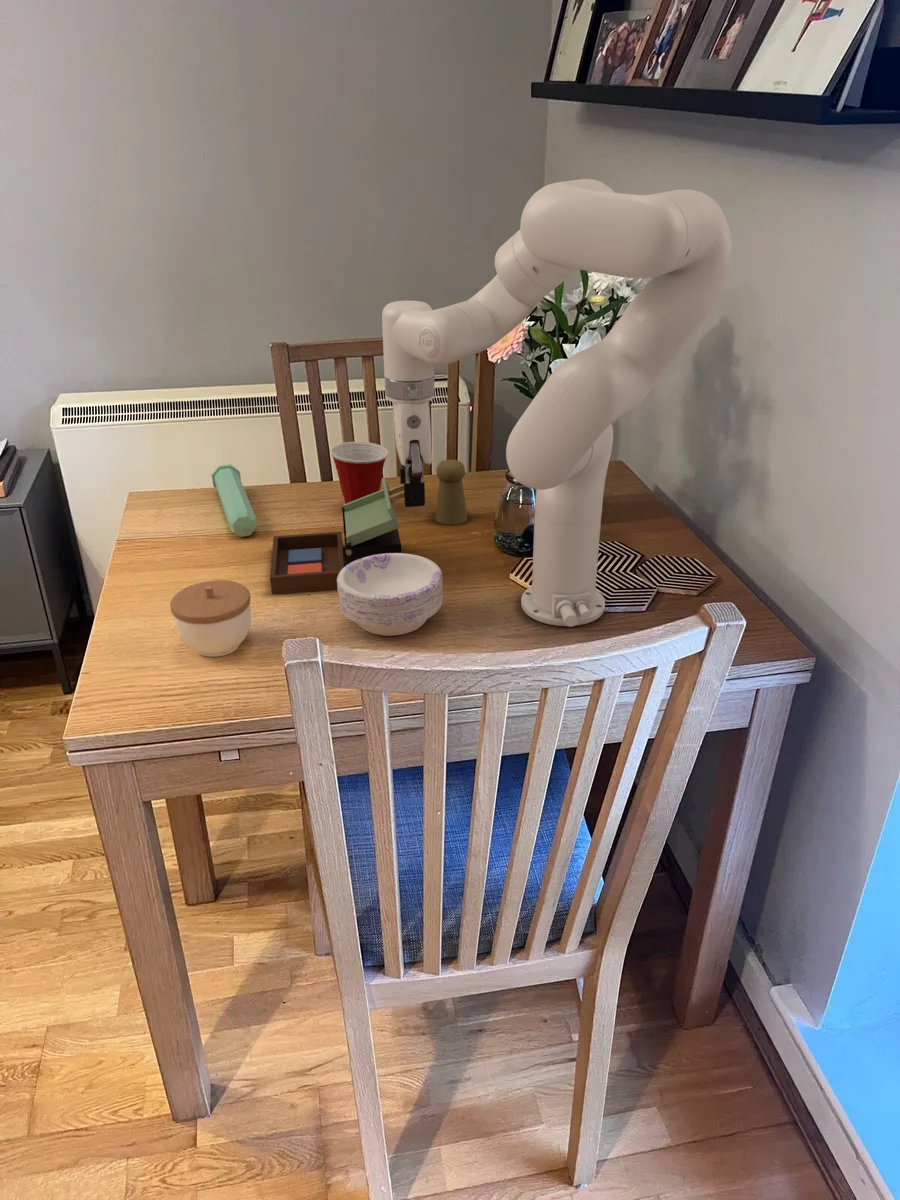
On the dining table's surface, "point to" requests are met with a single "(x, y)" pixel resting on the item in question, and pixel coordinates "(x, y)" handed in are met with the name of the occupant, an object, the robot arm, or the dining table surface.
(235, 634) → the trinket box
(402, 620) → the paper bowls
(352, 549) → the stand
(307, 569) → the coral sachet
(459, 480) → the pepper mill
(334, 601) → the dining table surface
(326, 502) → the dining table surface
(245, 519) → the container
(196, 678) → the dining table surface
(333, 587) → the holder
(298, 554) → the blue sachet
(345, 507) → the green handled tray
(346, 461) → the plastic cup
